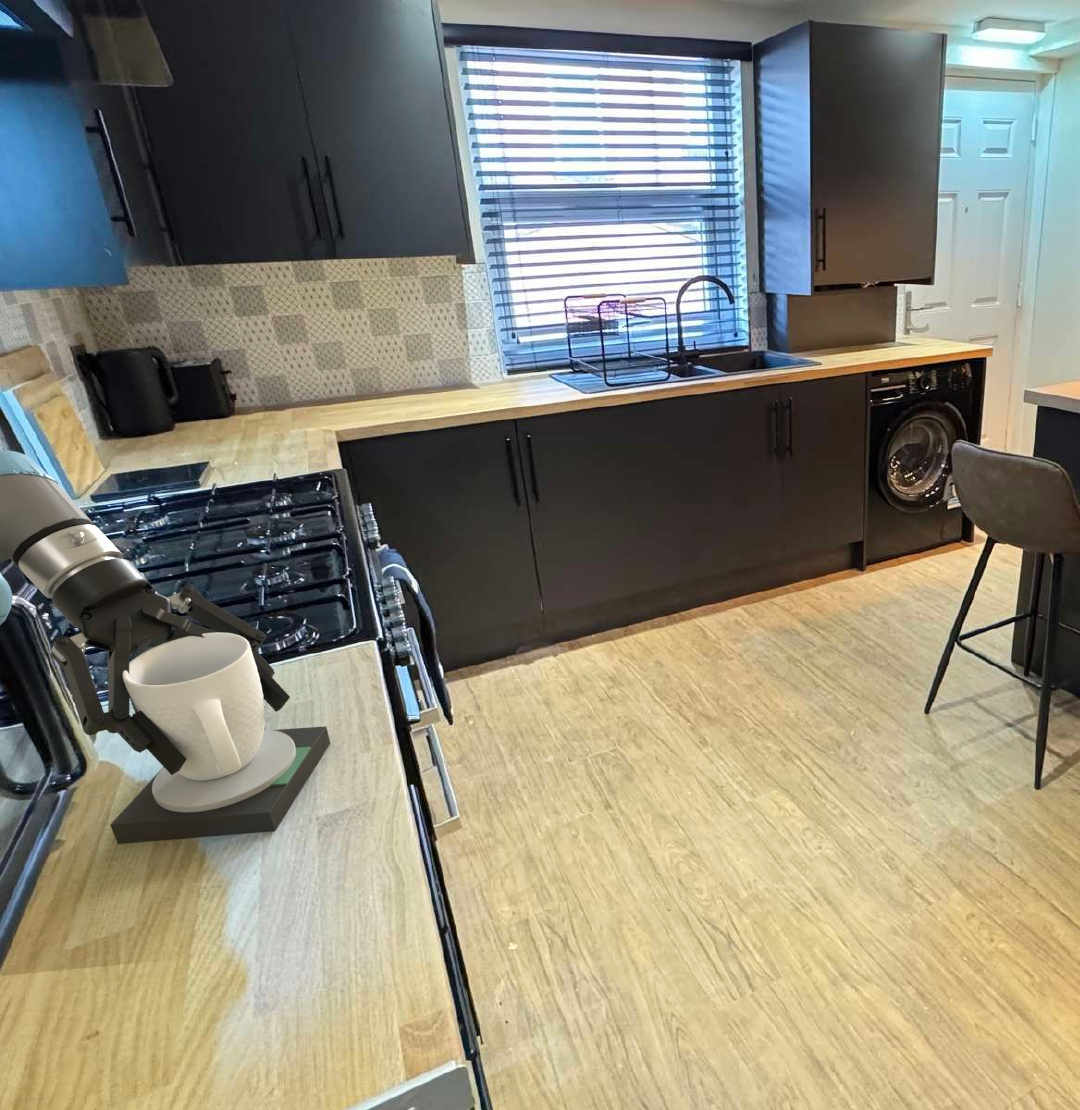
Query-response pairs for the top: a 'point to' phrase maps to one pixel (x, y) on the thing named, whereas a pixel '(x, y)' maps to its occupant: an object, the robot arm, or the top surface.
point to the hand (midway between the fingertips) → (234, 734)
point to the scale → (226, 793)
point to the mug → (202, 700)
